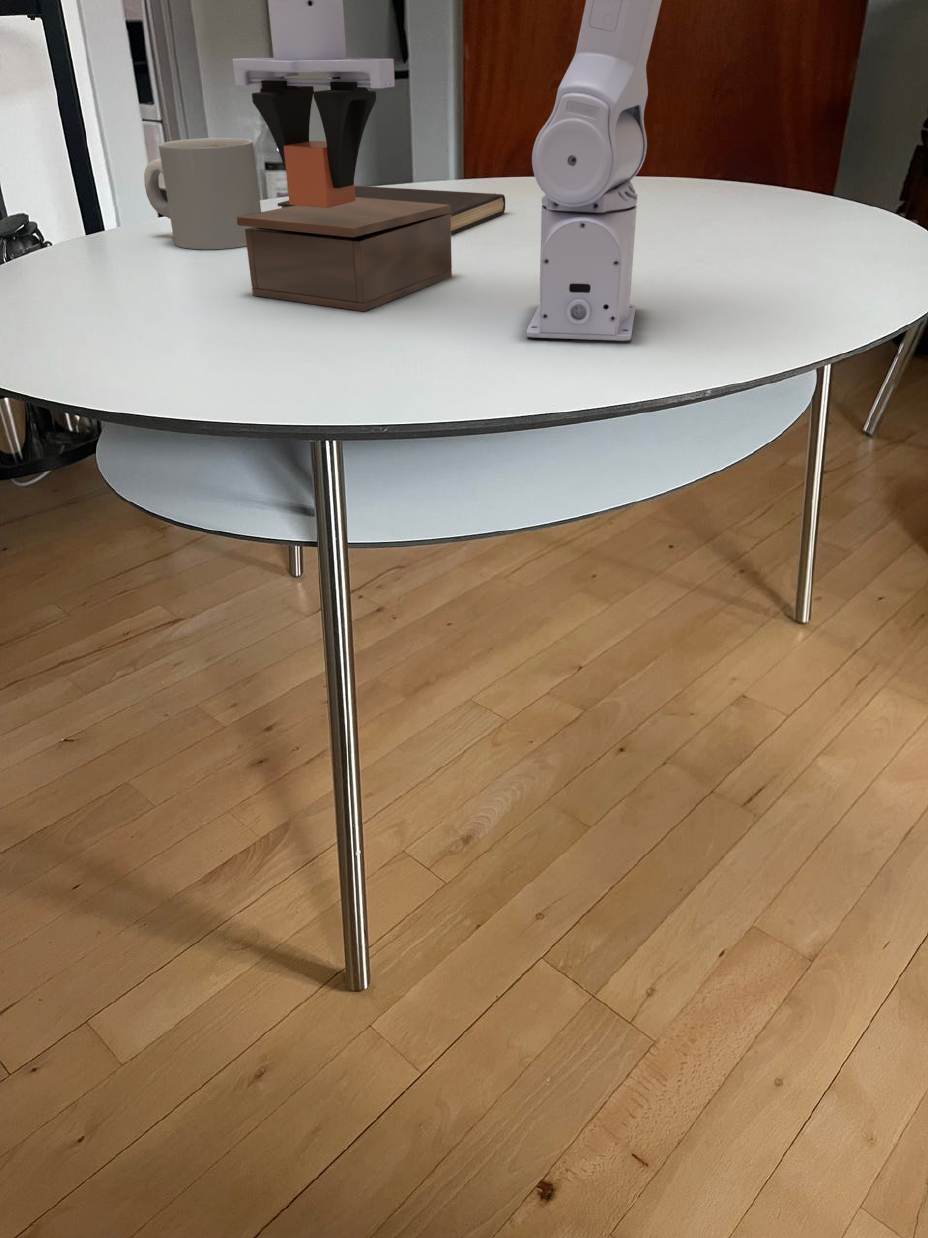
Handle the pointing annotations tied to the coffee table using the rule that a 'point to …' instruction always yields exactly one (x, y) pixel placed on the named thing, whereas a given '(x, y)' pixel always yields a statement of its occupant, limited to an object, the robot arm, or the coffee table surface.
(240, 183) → the coffee mug
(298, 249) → the box
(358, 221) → the lid
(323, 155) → the block
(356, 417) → the coffee table surface
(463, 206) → the hardcover book
